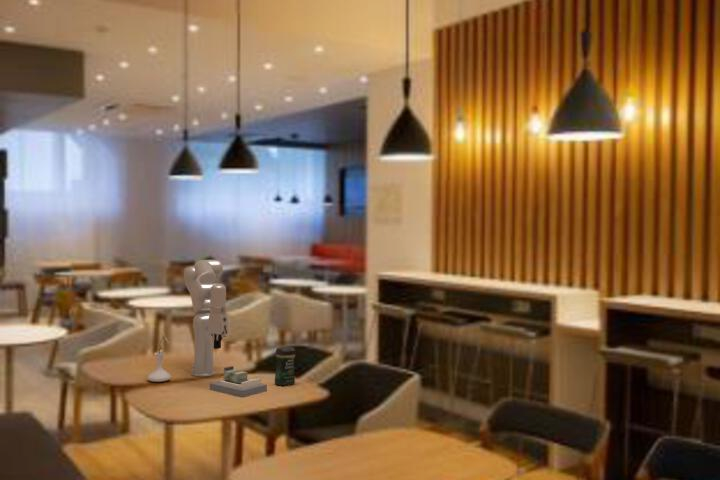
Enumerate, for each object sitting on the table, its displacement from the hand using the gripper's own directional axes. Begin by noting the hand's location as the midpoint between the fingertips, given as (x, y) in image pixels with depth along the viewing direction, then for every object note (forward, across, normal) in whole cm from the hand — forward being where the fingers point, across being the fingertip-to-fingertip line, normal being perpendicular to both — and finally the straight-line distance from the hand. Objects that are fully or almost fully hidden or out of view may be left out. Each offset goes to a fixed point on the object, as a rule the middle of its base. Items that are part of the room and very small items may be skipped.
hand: (217, 348), depth 354 cm
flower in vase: (+18, +28, +12) cm, 36 cm away
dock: (+18, -15, 0) cm, 23 cm away
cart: (+15, -13, 0) cm, 20 cm away
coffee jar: (+18, -23, -24) cm, 38 cm away
